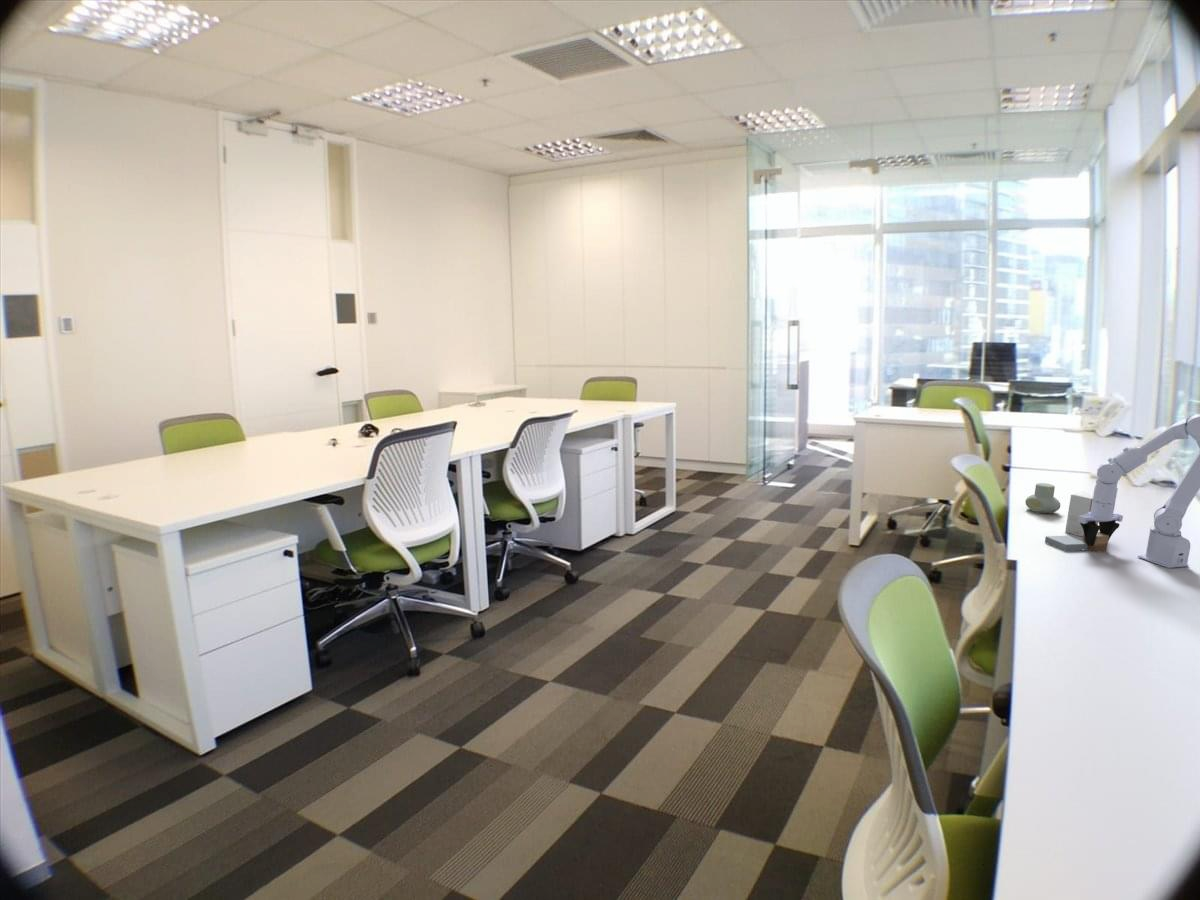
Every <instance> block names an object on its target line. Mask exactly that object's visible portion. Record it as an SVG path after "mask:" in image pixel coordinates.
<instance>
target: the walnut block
mask: <svg viewBox="0 0 1200 900" xmlns="http://www.w3.org/2000/svg"><path fill="white" fill-rule="evenodd" d="M1108 539H1109V535H1106V534H1103V533H1100V531H1098V533H1097V535H1096V538H1095V542H1094V545H1093V546H1090V545H1088V549H1089V550H1088V551H1090V550H1091V551H1090V552H1093V551H1094V552H1093V553H1097V552H1096V551H1102V552H1107V551H1108V545H1109V541H1108ZM1109 540H1110V539H1109ZM1082 541H1083V542H1085V535H1084V536H1082ZM1106 550H1107V551H1106Z"/></svg>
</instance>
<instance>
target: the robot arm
mask: <svg viewBox="0 0 1200 900" xmlns="http://www.w3.org/2000/svg"><path fill="white" fill-rule="evenodd" d="M1189 436H1190V437H1191V438H1192V439H1193V440H1194V441H1195V442H1196V443H1197V444H1196V445H1198V448H1199V449H1200V412H1196V413H1193V414H1190V415H1189V416H1188V417H1187V418H1184V419H1181V420H1179V421H1177V422H1176V423H1174V424H1171V425H1170V426H1169V427H1167V428H1166V429H1164V430H1163V431H1161V432H1159V433H1158V434H1156V435H1155V436H1153V437H1152V438H1150V439H1149V440H1148V441H1147V442H1145V443H1143V444H1142V445H1140V446H1134V445H1133V446H1132V445H1131V446H1129V447H1127V446H1126V447H1124V448H1123V449H1122V452H1120V453H1119V454H1116V455H1115V456H1114V457H1109V458H1107V461H1105V462H1102V463H1101V464H1100V465H1099V467H1098V468H1097V472H1096V475H1097V478H1096V479H1095V484H1094V490H1093V493H1092V494H1093V500H1092V506H1091V511H1090V512H1088V513H1087V514H1086V515H1082V516H1079V519H1078V522H1080V524H1081V526H1082V528H1083V531H1084V535H1085V543H1086V544H1087V545H1090V546H1093V545H1094V542H1095V538H1096V535H1097V533H1098V532H1100V533H1103V534H1106V535H1109V539H1108V542H1109V541H1110V539H1111V537H1112V535H1113V534H1114V532H1115V531H1117V529H1119V527H1120V522H1123V519H1124V515H1122V514H1120V513H1114V511H1115V507H1116V506H1115V505H1116V500H1117V497H1118V496H1117V494H1118V490H1119V489H1118V484H1119V483H1118V482H1119V481H1120V479H1121V477H1122V475H1127V474H1129V473H1131V472H1132V471H1133V470H1135V469H1137V468H1138V467H1140V466H1142V465H1144V464H1145V463H1147V461H1148V456H1149V455H1151V454H1152V453H1155V452H1156V451H1158V450H1160V449H1162V448H1163V447H1165V446H1166V445H1169V444H1170V443H1172V442H1174V441H1176V440H1188V439H1189ZM1199 490H1200V450H1199V451H1198V453H1197V454H1196V456H1195V458H1194V459H1193V461H1192V462H1191V464H1190V466H1189V467H1188V468H1187V470H1186V472H1185V473H1184V474H1183V477H1182V478H1181V480H1180V481H1179V483H1178V484H1177V486H1176V488H1175V489H1174V491H1173V492H1172V494H1171V496H1170V497H1169V498H1168V499H1167V500H1166V501H1165V503H1164V504H1163V505H1162V506H1161V507H1159V508H1158V509H1156V510H1155V511H1154V515H1153V519H1154V521H1153V524H1154V525H1153V526H1151V527H1150V528H1149V534H1148V541H1147V545H1146V552H1145V554H1140V555H1137V558H1139V559H1142V560H1145V561H1148V562H1151V563H1153V564H1156V565H1159V566H1161V567H1164V568H1167V569H1171V568H1182V567H1189V566H1190V564H1189V563H1188V562H1189V555H1190V551H1191V542H1190V540H1189V539H1188V538H1185V537H1184V536H1183V535H1182V531H1181V529H1182V526H1183V519H1184V516H1185V514H1186V512H1187V510H1188V508H1189V506H1190V504H1191V503H1192V501H1193V500H1194V498H1195V496H1196V495H1197V493H1198V492H1199ZM1096 522H1098V525H1096V524H1095V523H1096ZM1118 522H1119V523H1118Z"/></svg>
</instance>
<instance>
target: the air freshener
mask: <svg viewBox="0 0 1200 900" xmlns="http://www.w3.org/2000/svg"><path fill="white" fill-rule="evenodd" d="M1054 494H1055V485H1053V484H1050V483H1045V482H1044V483H1043V482H1042V483H1041V482H1038V483H1036V484H1035V488H1034V494H1031V495H1029V496H1027V498H1025V506H1026V508H1028V509H1029V510H1031V511H1032V510H1033V511H1032V512H1034V511H1035V512H1034V513H1036V512H1039V513H1038V514H1053V513H1055V512H1057V511H1059V510H1060V508H1061V502H1060V501H1059V499H1057V498H1056V497H1055V496H1054Z"/></svg>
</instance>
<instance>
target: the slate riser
mask: <svg viewBox="0 0 1200 900" xmlns="http://www.w3.org/2000/svg"><path fill="white" fill-rule="evenodd" d="M1044 538H1045V539H1044V543H1045V544H1047V543H1048V544H1047V545H1050V546H1052V547H1054V546H1055V548H1057V549H1059V550H1061V549H1062V551H1064V550H1065V551H1064V552H1067V551H1066V550H1073V551H1083V550H1082V549H1088V545H1087V544H1086V543H1085V542H1083V540H1080V539H1078V538H1075V537H1073V536H1070V535H1046V536H1045V537H1044Z"/></svg>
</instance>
